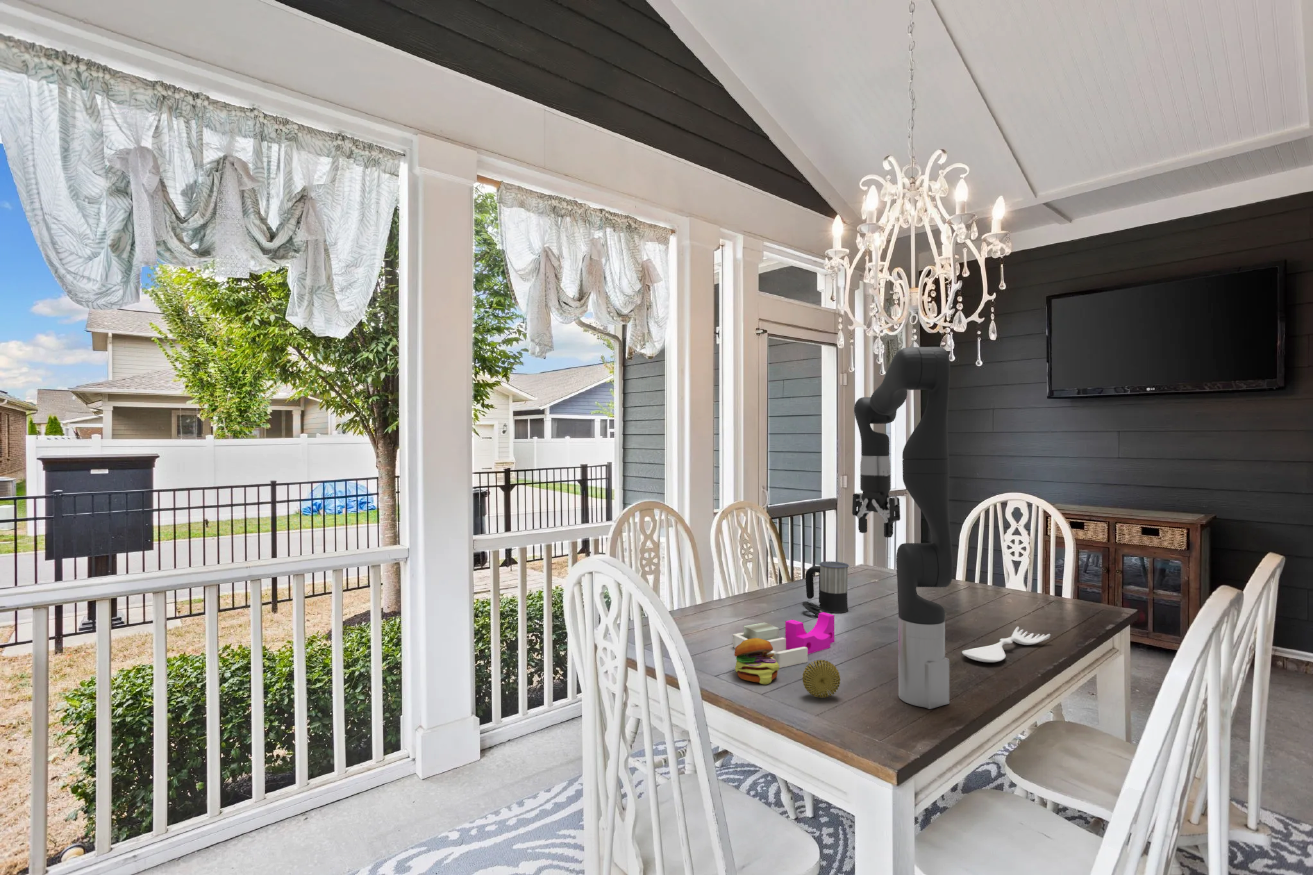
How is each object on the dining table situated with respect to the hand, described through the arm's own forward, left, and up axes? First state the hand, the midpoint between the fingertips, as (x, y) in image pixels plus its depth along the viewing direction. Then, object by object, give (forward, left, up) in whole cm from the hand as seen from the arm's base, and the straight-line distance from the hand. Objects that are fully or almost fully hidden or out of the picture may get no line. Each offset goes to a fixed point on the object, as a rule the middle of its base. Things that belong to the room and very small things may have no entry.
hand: (875, 534), depth 172 cm
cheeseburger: (0, +39, -30) cm, 50 cm away
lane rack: (+10, +27, -30) cm, 42 cm away
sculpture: (-17, +34, -30) cm, 49 cm away
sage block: (+14, +26, -30) cm, 43 cm away
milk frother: (+34, -14, -30) cm, 48 cm away
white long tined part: (-17, -28, -31) cm, 45 cm away
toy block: (+10, +12, -31) cm, 34 cm away
